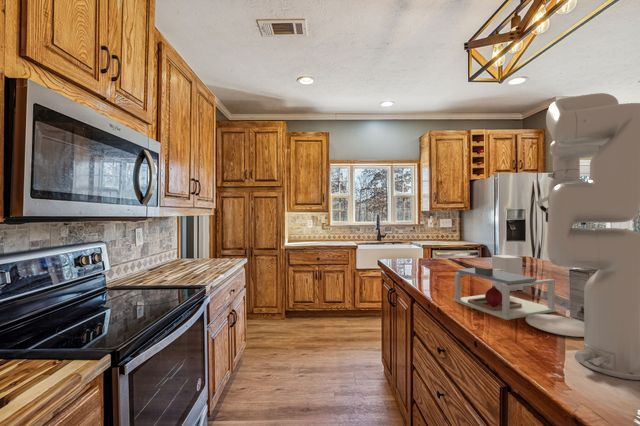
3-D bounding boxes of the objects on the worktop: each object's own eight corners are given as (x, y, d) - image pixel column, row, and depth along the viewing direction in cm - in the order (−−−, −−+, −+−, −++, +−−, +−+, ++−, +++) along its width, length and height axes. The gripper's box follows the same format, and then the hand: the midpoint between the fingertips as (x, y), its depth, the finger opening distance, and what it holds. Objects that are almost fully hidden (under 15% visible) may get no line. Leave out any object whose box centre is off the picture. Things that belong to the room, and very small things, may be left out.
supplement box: (523, 290, 138) (523, 257, 138) (505, 291, 137) (505, 257, 137) (508, 286, 147) (508, 254, 147) (491, 286, 146) (491, 255, 146)
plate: (571, 342, 84) (571, 338, 84) (513, 321, 100) (513, 318, 100) (610, 333, 90) (610, 329, 90) (549, 315, 106) (549, 311, 106)
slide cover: (509, 284, 102) (508, 273, 102) (457, 271, 123) (457, 263, 123) (536, 281, 107) (536, 270, 107) (481, 269, 128) (481, 261, 128)
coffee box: (588, 313, 107) (588, 267, 107) (610, 320, 101) (610, 270, 101) (568, 316, 105) (568, 268, 104) (589, 322, 98) (589, 272, 98)
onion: (505, 310, 111) (505, 287, 111) (488, 309, 113) (488, 287, 113) (499, 305, 117) (499, 284, 117) (483, 304, 118) (483, 283, 118)
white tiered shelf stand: (506, 319, 101) (506, 285, 101) (453, 301, 123) (453, 272, 123) (556, 311, 110) (555, 279, 110) (498, 295, 131) (498, 268, 131)
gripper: (538, 176, 111) (538, 224, 111) (601, 173, 103) (601, 225, 103) (534, 178, 117) (535, 223, 117) (594, 175, 109) (594, 224, 109)
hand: (566, 224), depth 110 cm, fingers open, 9 cm apart
